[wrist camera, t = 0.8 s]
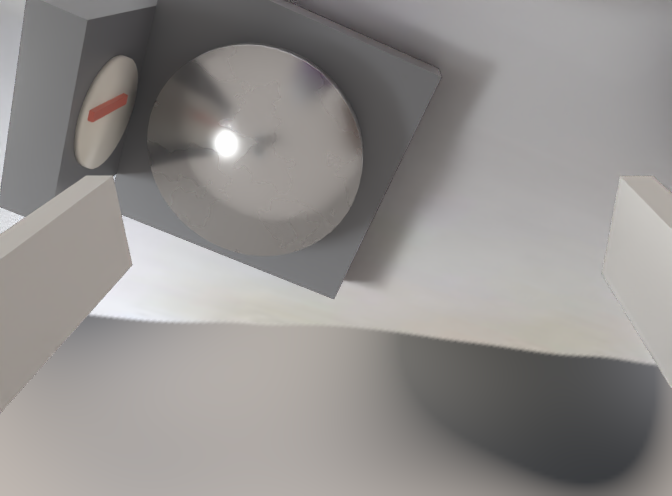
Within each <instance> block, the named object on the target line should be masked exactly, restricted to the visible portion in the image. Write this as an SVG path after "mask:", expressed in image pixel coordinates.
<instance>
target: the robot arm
mask: <svg viewBox="0 0 672 496" xmlns="http://www.w3.org/2000/svg"><path fill="white" fill-rule="evenodd" d="M131 266H132V261H131V256H130V252H129V247H128V243H127V238H126V233H125V229H124V224H123V220H122V215H121V211H120V206H119V202H118V197H117V192H116V188H115V183H114V179H113V176H85V177H83V178H82V179H80V180H79V181H77V182H76V183H75V184H73V185H72V186H70V187H69V188H67V189H66V190H64V191H63V192H61V193H60V194H58V195H57V196H56V197H54V198H53V199H51V200H50V201H48V202H47V203H45V204H44V205H42V206H41V207H39V208H38V209H37V210H35V211H34V212H32V213H31V214H29V215H28V216H26V217H25V218H23V219H22V220H20V221H19V222H18V223H16V224H15V225H13V226H12V227H10V228H9V229H7V230H6V231H4V232H3V233H1V234H0V414H1V412H2V411H3V410H4V409H5V408H6V407H7V406H8V404H9V403H10V402H11V401H12V400H13V399H14V398H15V397H16V396H17V394H18V393H19V392H20V391H21V390H22V389H23V388H24V387H25V385H26V384H27V383H28V382H29V381H30V380H31V379H32V378H33V376H34V375H35V374H36V373H37V372H38V371H39V370H40V369H41V367H42V366H43V365H44V364H45V363H46V362H47V361H48V360H49V358H50V357H51V356H52V355H53V354H54V353H55V352H56V351H57V349H58V348H59V347H60V346H61V345H62V344H63V343H64V342H65V340H66V339H67V338H68V337H69V336H70V335H71V334H72V333H73V331H74V330H75V329H76V328H77V327H78V326H79V325H80V324H81V322H82V321H83V320H84V319H85V318H86V317H87V316H88V315H89V313H90V312H91V311H92V310H93V309H94V308H95V307H96V306H97V304H98V303H99V302H100V301H101V300H102V299H103V298H104V297H105V295H106V294H107V293H108V292H109V291H110V290H111V289H112V288H113V286H114V285H115V284H116V283H117V282H118V281H119V280H120V279H121V277H122V276H123V275H124V274H125V273H126V272H127V271H128V270H129V268H130V267H131ZM601 274H602V276H603V278H604V279H605V281H606V282H607V284H608V286H609V287H610V289H611V291H612V292H613V294H614V296H615V297H616V299H617V300H618V302H619V304H620V305H621V307H622V309H623V310H624V312H625V314H626V315H627V317H628V318H629V320H630V322H631V323H632V325H633V327H634V328H635V330H636V332H637V333H638V335H639V336H640V338H641V340H642V341H643V343H644V345H645V346H646V348H647V350H648V351H649V353H650V354H651V356H652V358H653V359H654V361H655V363H656V364H657V366H658V368H659V369H660V371H661V373H662V374H663V376H664V377H665V379H666V381H667V382H668V384H669V386H670V387H671V389H672V193H671V192H670V191H669V190H668V189H667V188H666V187H665V186H664V185H662V184H661V183H660V182H659V181H658V180H657V179H656V178H655V177H653V176H620V178H619V184H618V189H617V194H616V199H615V205H614V210H613V215H612V221H611V226H610V231H609V236H608V242H607V247H606V252H605V258H604V263H603V268H602V273H601Z"/></svg>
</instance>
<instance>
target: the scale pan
mask: <svg viewBox="0 0 672 496" xmlns="http://www.w3.org/2000/svg"><path fill="white" fill-rule="evenodd" d="M147 148H148V158H149V162H150V167H151V171H152V174H153V177H154V179H155V182H156V184H157V186H158V188H159V190H160V192H161V194H162V196H163V198H164V199H165V201H166V202H167V204H168V205H169V207H170V208H171V209H172V211H173V212H174V213H175V214H176V215H177V217H178V218H179V219H180V220H181V221H182V222H183V223H184V224H185V225H187V226H188V227H189V228H190V229H191V230H193V231H194V232H195V233H197V234H198V235H199V236H201V237H203V238H204V239H206V240H207V241H209V242H211V243H213V244H215V245H217V246H220V247H222V248H224V249H227V250H230V251H233V252H237V253H242V254H246V255H255V256H276V255H283V254H288V253H292V252H295V251H299V250H301V249H304V248H306V247H308V246H311V245H312V244H314V243H316V242H318V241H319V240H321V239H322V238H324V237H325V236H326V235H328V234H329V233H330V232H331V231H332V230H333V229H334V228H335V227H336V226H337V225H338V224H339V223H340V222H341V221H342V219H343V218H344V217H345V215H346V214H347V213H348V211H349V209H350V207H351V205H352V203H353V202H354V199H355V196H356V194H357V191H358V188H359V184H360V179H361V174H362V167H363V142H362V136H361V131H360V127H359V124H358V121H357V118H356V115H355V113H354V111H353V109H352V107H351V105H350V102H349V101H348V99H347V98H346V96H345V95H344V93H343V92H342V90H341V89H340V88H339V86H338V85H337V84H336V83H335V82H334V81H333V79H332V78H331V77H330V76H329V75H327V74H326V73H325V72H324V71H323V70H322V69H321V68H320V67H318V66H317V65H315V64H314V63H312V62H311V61H310V60H308V59H306V58H304V57H303V56H301V55H299V54H297V53H295V52H292V51H290V50H287V49H284V48H281V47H278V46H273V45H269V44H263V43H235V44H230V45H225V46H221V47H218V48H215V49H213V50H210V51H207V52H206V53H204V54H202V55H200V56H198V57H196V58H194V59H193V60H191V61H189V62H188V63H186V64H185V65H184V66H182V67H181V68H180V69H179V70H177V72H176V73H175V74H174V75H173V76H172V77H171V78H170V79H169V80H168V81H167V83H166V84H165V86H164V87H163V88H162V90H161V91H160V93H159V95H158V97H157V99H156V101H155V103H154V106H153V109H152V112H151V115H150V119H149V125H148V133H147Z"/></svg>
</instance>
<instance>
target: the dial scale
mask: <svg viewBox="0 0 672 496" xmlns="http://www.w3.org/2000/svg"><path fill="white" fill-rule="evenodd" d="M235 43H263V44H269V45H273V46H278V47H281V48H284V49H287V50H290V51H292V52H295V53H297V54H299V55H301V56H303V57H304V58H306V59H308V60H310V61H311V62H312V63H314V64H315V65H317V66H318V67H320V68H321V69H322V70H323V71H324V72H325V73H326V74H327V75H329V76H330V77H331V78H332V79H333V81H334V82H335V83H336V84H337V85H338V86H339V88H340V89H341V90H342V92H343V93H344V95H345V96H346V98H347V99H348V101H349V102H350V105H351V107H352V109H353V111H354V113H355V115H356V118H357V121H358V124H359V127H360V131H361V136H362V142H363V167H362V174H361V179H360V184H359V188H358V191H357V194H356V196H355V199H354V202H353V203H352V205H351V207H350V209H349V211H348V213H347V214H346V215H345V217H344V218H343V219H342V221H341V222H340V223H339V224H338V225H337V226H336V227H335V228H334V229H333V230H332V231H331V232H330V233H329V234H328V235H326V236H325V237H324V238H322V239H321V240H319V241H318V242H316V243H314V244H312V245H311V246H308V247H306V248H304V249H301V250H299V251H295V252H292V253H288V254H283V255H276V256H255V255H246V254H242V253H237V252H233V251H230V250H227V249H224V248H222V247H220V246H217V245H215V244H213V243H211V242H209V241H207V240H206V239H204V238H203V237H201V236H199V235H198V234H197V233H195V232H194V231H193V230H191V229H190V228H189V227H188V226H187V225H185V224H184V223H183V222H182V221H181V220H180V219H179V218H178V217H177V215H176V214H175V213H174V212H173V211H172V209H171V208H170V207H169V205H168V204H167V202H166V201H165V199H164V198H163V196H162V194H161V192H160V190H159V188H158V186H157V184H156V182H155V179H154V177H153V174H152V171H151V167H150V162H149V158H148V148H147V133H148V125H149V119H150V115H151V112H152V109H153V106H154V103H155V101H156V99H157V97H158V95H159V93H160V91H161V90H162V88H163V87H164V86H165V84H166V83H167V81H168V80H169V79H170V78H171V77H172V76H173V75H174V74H175V73H176V72H177V70H179V69H180V68H181V67H182V66H184V65H185V64H186V63H188V62H189V61H191V60H193V59H194V58H196V57H198V56H200V55H202V54H204V53H206V52H207V51H210V50H213V49H215V48H218V47H221V46H225V45H230V44H235ZM441 78H442V76H441V73H440V71H439V69H438V68H436V67H434V66H432V65H430V64H427V63H425V62H423V61H421V60H418V59H416V58H414V57H412V56H409V55H407V54H405V53H403V52H400V51H398V50H396V49H394V48H391V47H389V46H387V45H385V44H382V43H380V42H378V41H376V40H373V39H371V38H369V37H367V36H365V35H362V34H360V33H358V32H356V31H353V30H351V29H349V28H347V27H344V26H342V25H340V24H338V23H335V22H333V21H331V20H329V19H326V18H324V17H322V16H320V15H317V14H315V13H313V12H311V11H308V10H306V9H304V8H302V7H300V6H297V5H295V4H293V3H291V2H288V1H286V0H26V5H25V12H24V20H23V27H22V35H21V42H20V49H19V57H18V64H17V71H16V79H15V86H14V94H13V101H12V108H11V116H10V123H9V130H8V138H7V145H6V152H5V160H4V167H3V175H2V182H1V189H0V207H1V208H4V209H6V210H9V211H11V212H14V213H16V214H19V215H22V216H24V217H26V216H28V215H29V214H31V213H32V212H34V211H35V210H37V209H38V208H39V207H41V206H42V205H44V204H45V203H47V202H48V201H50V200H51V199H53V198H54V197H56V196H57V195H58V194H60V193H61V192H63V191H64V190H66V189H67V188H69V187H70V186H72V185H73V184H75V183H76V182H77V181H79V180H80V179H82V178H83V177H85V176H114V175H116V178H115V182H114V183H115V188H116V192H117V197H118V202H119V206H120V211H121V215H124V216H126V217H129V218H131V219H134V220H136V221H139V222H141V223H144V224H146V225H149V226H151V227H154V228H156V229H159V230H161V231H164V232H166V233H169V234H171V235H174V236H176V237H179V238H181V239H184V240H186V241H189V242H191V243H194V244H196V245H199V246H201V247H204V248H207V249H209V250H212V251H214V252H217V253H219V254H222V255H224V256H227V257H229V258H232V259H234V260H237V261H239V262H242V263H244V264H247V265H249V266H252V267H254V268H257V269H259V270H262V271H264V272H267V273H269V274H272V275H274V276H277V277H279V278H282V279H284V280H287V281H289V282H292V283H294V284H297V285H299V286H302V287H304V288H307V289H309V290H312V291H314V292H317V293H319V294H322V295H324V296H327V297H329V298H332V299H334V298H335V296H336V294H337V292H338V290H339V288H340V286H341V284H342V282H343V280H344V278H345V276H346V274H347V272H348V269H349V267H350V265H351V263H352V261H353V259H354V257H355V255H356V253H357V251H358V249H359V247H360V245H361V243H362V241H363V239H364V236H365V234H366V232H367V230H368V228H369V226H370V224H371V222H372V220H373V218H374V216H375V214H376V212H377V210H378V208H379V205H380V203H381V201H382V199H383V197H384V195H385V193H386V191H387V189H388V187H389V185H390V183H391V181H392V179H393V177H394V175H395V172H396V170H397V168H398V166H399V164H400V162H401V160H402V158H403V156H404V154H405V152H406V150H407V148H408V146H409V144H410V142H411V139H412V137H413V135H414V133H415V131H416V129H417V127H418V125H419V123H420V121H421V119H422V117H423V115H424V113H425V111H426V108H427V106H428V104H429V102H430V100H431V98H432V96H433V94H434V92H435V90H436V88H437V86H438V84H439V82H440V80H441Z"/></svg>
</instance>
